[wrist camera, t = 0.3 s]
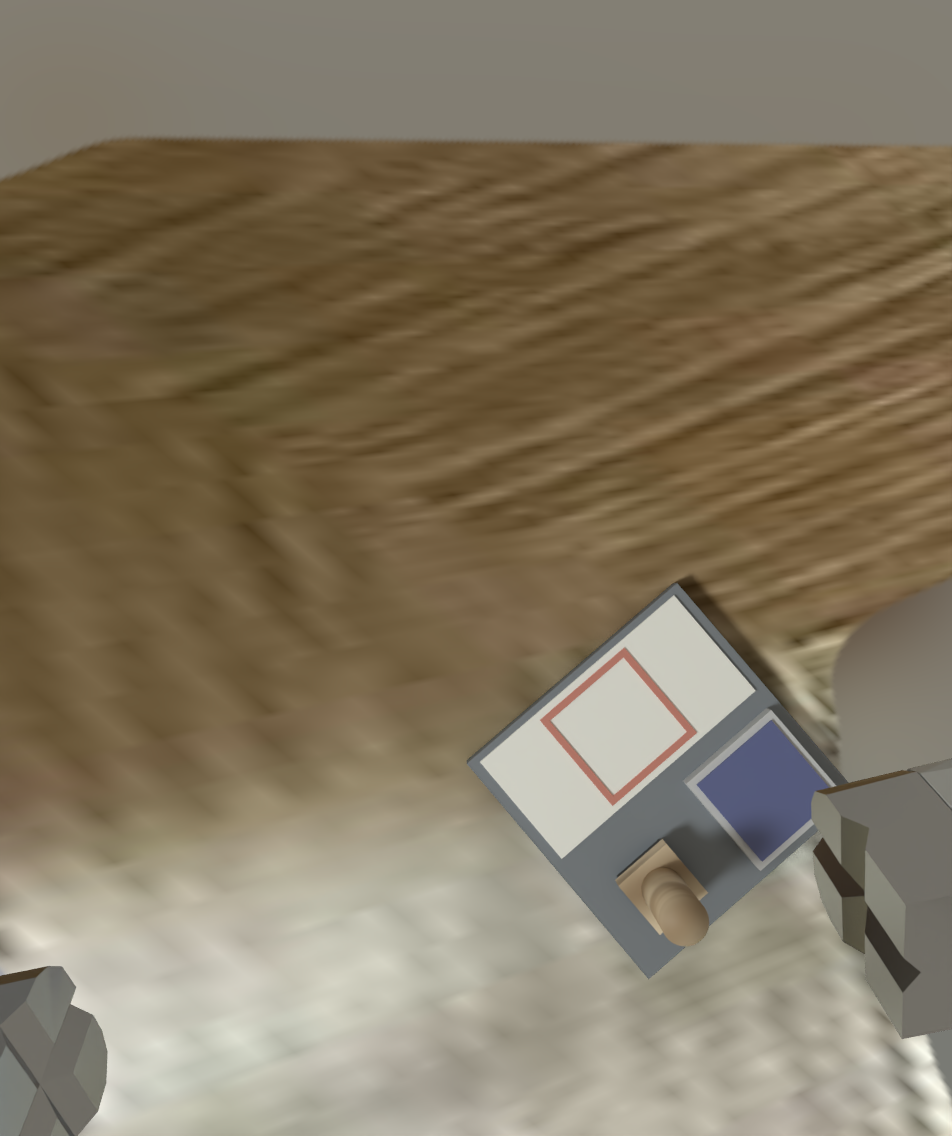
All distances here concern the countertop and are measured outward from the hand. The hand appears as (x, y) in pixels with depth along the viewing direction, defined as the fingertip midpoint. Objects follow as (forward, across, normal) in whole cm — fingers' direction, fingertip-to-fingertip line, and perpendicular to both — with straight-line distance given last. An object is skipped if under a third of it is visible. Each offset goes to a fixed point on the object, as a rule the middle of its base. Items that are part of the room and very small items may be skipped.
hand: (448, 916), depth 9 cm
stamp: (+37, +9, -41) cm, 56 cm away
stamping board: (+41, +11, -35) cm, 55 cm away
